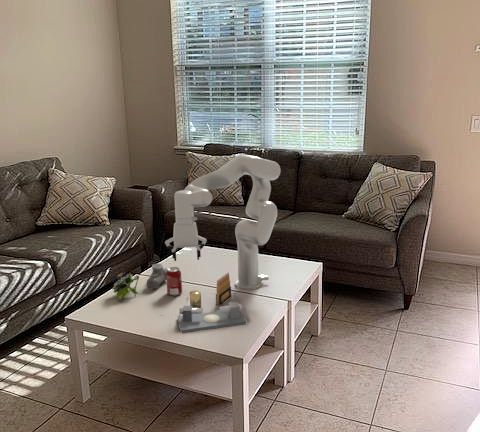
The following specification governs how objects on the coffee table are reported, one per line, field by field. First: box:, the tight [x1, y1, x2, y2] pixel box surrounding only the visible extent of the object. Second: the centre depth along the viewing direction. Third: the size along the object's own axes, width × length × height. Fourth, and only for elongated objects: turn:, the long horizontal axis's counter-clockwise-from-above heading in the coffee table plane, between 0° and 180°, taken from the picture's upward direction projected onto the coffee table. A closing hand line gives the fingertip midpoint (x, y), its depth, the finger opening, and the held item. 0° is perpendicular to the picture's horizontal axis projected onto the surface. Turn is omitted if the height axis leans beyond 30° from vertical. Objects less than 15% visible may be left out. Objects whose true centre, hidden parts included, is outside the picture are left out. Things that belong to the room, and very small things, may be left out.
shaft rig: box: [177, 301, 247, 334], centre depth 205 cm, size 26×12×6 cm, turn 104°
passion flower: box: [111, 272, 140, 302], centre depth 231 cm, size 13×12×14 cm
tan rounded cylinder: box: [189, 289, 202, 308], centre depth 218 cm, size 5×5×7 cm
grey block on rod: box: [179, 305, 204, 322], centre depth 205 cm, size 9×4×5 cm, turn 89°
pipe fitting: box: [146, 263, 168, 290], centre depth 242 cm, size 12×8×10 cm, turn 163°
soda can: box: [166, 266, 183, 297], centre depth 232 cm, size 7×7×12 cm
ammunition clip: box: [215, 272, 232, 307], centre depth 223 cm, size 11×2×12 cm, turn 152°
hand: (186, 259), depth 215 cm, fingers open, 9 cm apart
